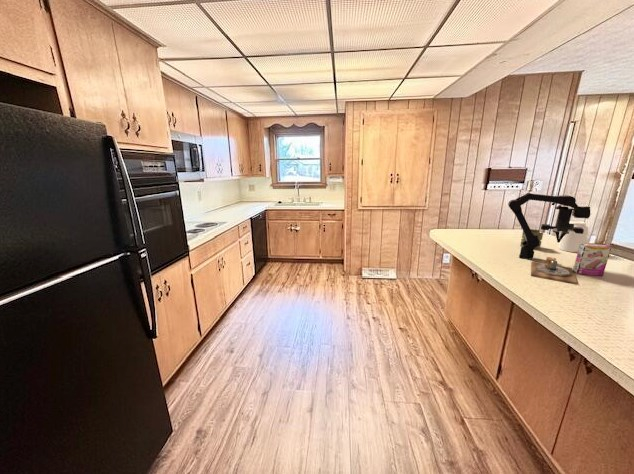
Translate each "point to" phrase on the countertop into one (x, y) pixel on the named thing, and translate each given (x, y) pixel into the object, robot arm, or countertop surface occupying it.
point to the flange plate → (557, 272)
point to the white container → (574, 238)
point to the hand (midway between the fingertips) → (558, 242)
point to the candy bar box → (591, 259)
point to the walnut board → (568, 278)
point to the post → (553, 265)
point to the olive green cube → (533, 233)
